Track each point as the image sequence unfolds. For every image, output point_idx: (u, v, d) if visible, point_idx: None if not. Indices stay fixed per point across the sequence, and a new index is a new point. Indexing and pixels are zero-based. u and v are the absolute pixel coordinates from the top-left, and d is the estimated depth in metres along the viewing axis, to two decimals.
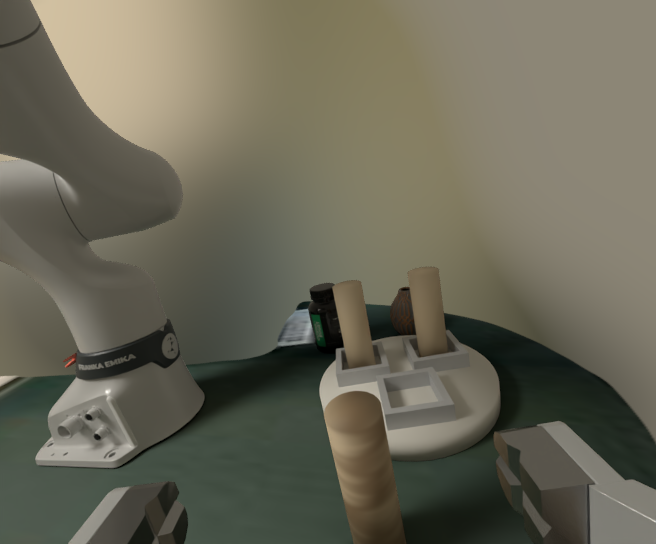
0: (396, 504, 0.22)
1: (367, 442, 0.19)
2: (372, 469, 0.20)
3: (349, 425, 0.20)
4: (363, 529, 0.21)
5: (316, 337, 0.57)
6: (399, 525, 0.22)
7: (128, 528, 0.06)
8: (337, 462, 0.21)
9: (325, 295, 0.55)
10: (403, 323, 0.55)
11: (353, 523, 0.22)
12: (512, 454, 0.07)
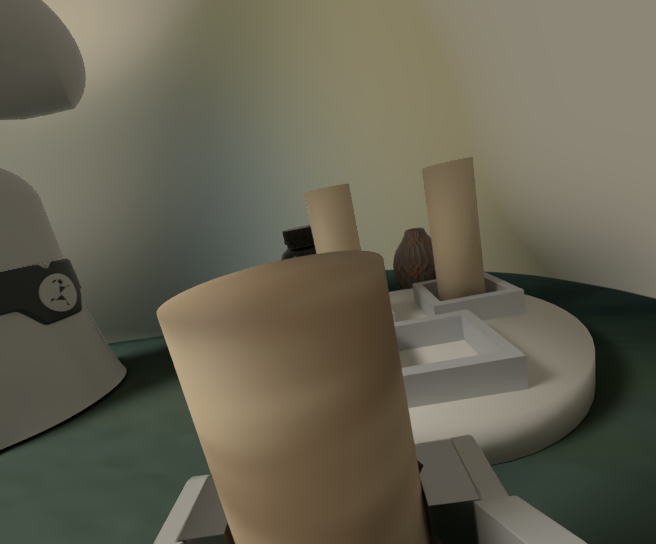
0: None
1: (317, 382, 0.04)
2: (346, 510, 0.04)
3: (235, 306, 0.04)
4: None
5: None
6: None
7: (221, 515, 0.06)
8: (213, 478, 0.05)
9: (303, 236, 0.39)
10: (412, 275, 0.39)
11: None
12: None
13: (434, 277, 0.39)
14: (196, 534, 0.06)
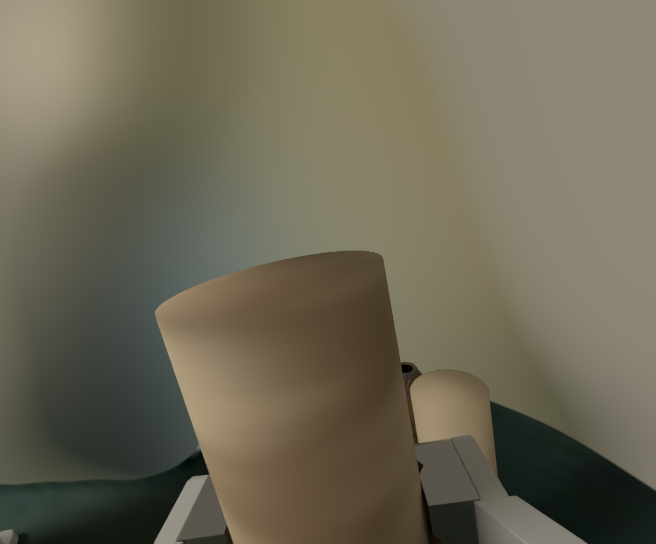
0: None
1: (316, 383, 0.04)
2: (345, 511, 0.04)
3: (234, 307, 0.04)
4: None
5: None
6: None
7: (221, 515, 0.06)
8: (211, 479, 0.05)
9: None
10: None
11: None
12: (418, 468, 0.07)
13: None
14: (196, 534, 0.06)
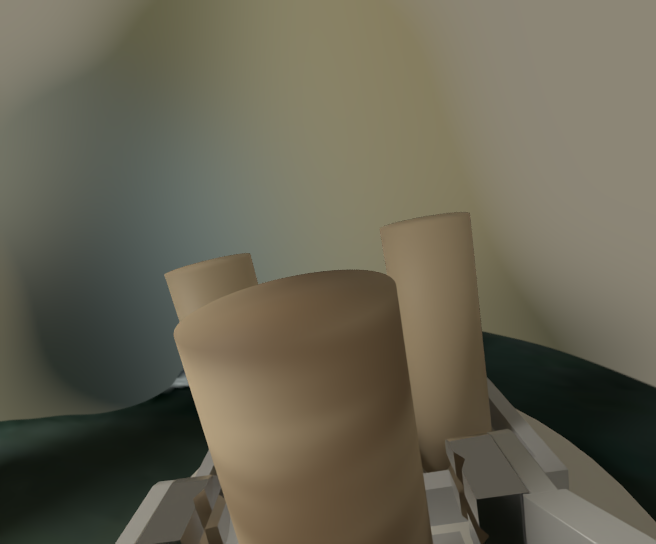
0: None
1: (333, 411, 0.04)
2: (358, 534, 0.05)
3: (254, 334, 0.04)
4: None
5: None
6: None
7: (180, 520, 0.06)
8: (224, 497, 0.05)
9: None
10: None
11: None
12: (458, 462, 0.07)
13: None
14: (154, 540, 0.06)
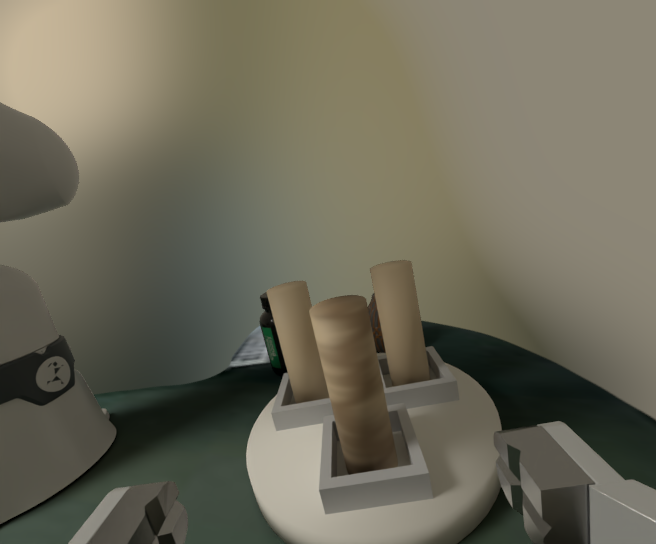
0: (384, 404, 0.22)
1: (351, 328, 0.19)
2: (357, 358, 0.20)
3: (333, 313, 0.20)
4: (350, 427, 0.21)
5: (269, 356, 0.45)
6: (387, 427, 0.22)
7: (128, 528, 0.06)
8: (323, 357, 0.21)
9: None
10: (378, 337, 0.43)
11: (340, 424, 0.21)
12: (512, 454, 0.07)
13: None
14: None
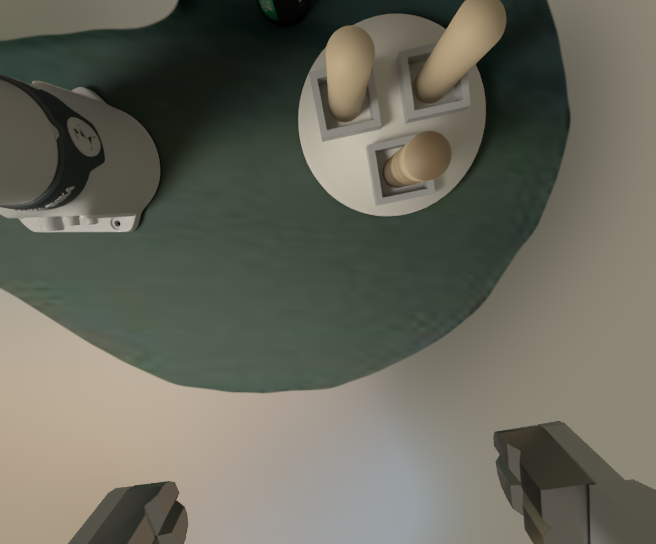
0: None
1: None
2: None
3: (427, 174, 0.27)
4: (401, 185, 0.35)
5: (260, 4, 0.35)
6: None
7: (128, 528, 0.06)
8: (403, 176, 0.30)
9: None
10: None
11: (395, 182, 0.35)
12: (512, 454, 0.07)
13: None
14: None
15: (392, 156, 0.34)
